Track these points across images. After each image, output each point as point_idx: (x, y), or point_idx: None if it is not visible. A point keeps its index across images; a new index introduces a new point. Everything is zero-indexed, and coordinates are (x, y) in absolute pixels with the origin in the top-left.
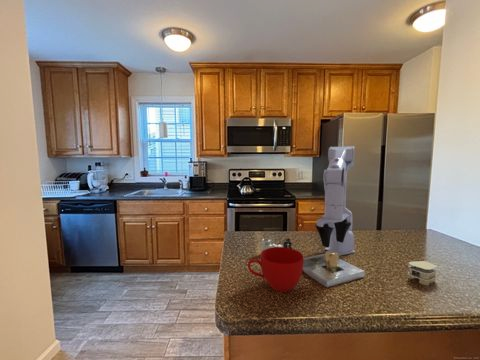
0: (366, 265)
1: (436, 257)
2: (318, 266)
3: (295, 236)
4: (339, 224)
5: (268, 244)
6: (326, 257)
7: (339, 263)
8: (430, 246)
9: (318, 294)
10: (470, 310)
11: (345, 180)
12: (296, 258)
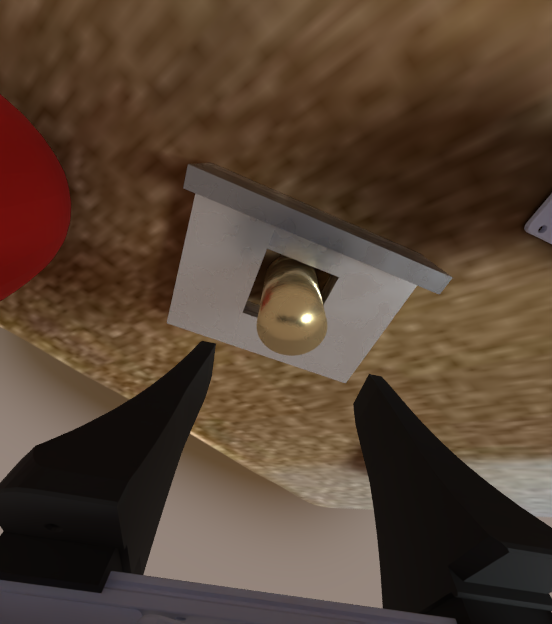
0: (453, 350)
1: None
2: (257, 241)
3: None
4: (421, 551)
5: None
6: (263, 300)
7: (359, 299)
8: None
9: (116, 308)
10: (321, 504)
11: None
12: (14, 224)
